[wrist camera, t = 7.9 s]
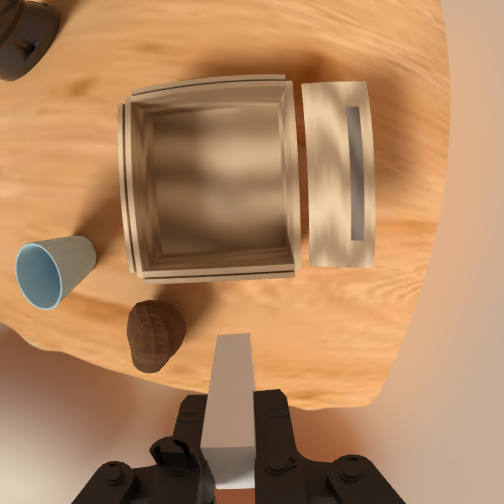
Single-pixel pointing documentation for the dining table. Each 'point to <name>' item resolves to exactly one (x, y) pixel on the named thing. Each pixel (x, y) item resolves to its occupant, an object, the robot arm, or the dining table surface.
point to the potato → (154, 334)
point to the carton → (210, 180)
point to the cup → (53, 268)
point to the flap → (340, 174)
